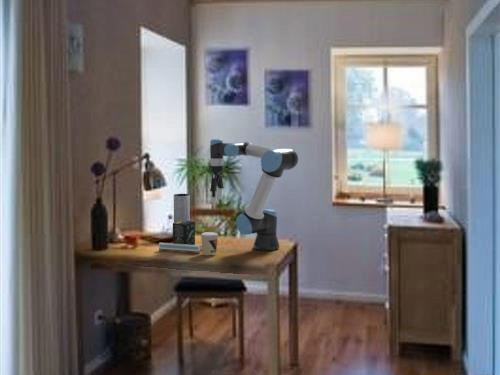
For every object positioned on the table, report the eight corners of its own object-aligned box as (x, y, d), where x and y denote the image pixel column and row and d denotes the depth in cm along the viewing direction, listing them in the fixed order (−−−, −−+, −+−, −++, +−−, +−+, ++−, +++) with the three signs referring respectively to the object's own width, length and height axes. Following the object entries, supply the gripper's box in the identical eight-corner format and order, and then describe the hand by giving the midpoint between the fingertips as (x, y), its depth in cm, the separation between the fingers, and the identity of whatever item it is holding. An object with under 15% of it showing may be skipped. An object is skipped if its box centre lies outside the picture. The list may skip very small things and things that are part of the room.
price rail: (199, 250, 374) (199, 245, 373) (198, 251, 372) (198, 245, 372) (159, 248, 380) (159, 242, 379) (158, 248, 378) (158, 243, 378)
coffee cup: (211, 257, 365) (211, 236, 364) (197, 255, 370) (197, 234, 368) (221, 254, 373) (221, 233, 371) (207, 252, 378) (207, 231, 376)
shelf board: (206, 248, 386) (206, 246, 386) (198, 254, 373) (198, 251, 373) (168, 245, 392) (168, 243, 392) (159, 251, 379) (159, 248, 379)
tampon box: (181, 244, 390) (181, 219, 388) (195, 245, 387) (195, 221, 385) (172, 247, 380) (172, 222, 379) (186, 249, 377) (186, 224, 375)
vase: (193, 236, 419) (192, 194, 415) (183, 239, 410) (183, 196, 407) (180, 235, 424) (180, 193, 420) (170, 237, 415) (170, 195, 412)
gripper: (216, 163, 407) (216, 197, 409) (204, 167, 382) (205, 203, 385) (227, 163, 405) (228, 198, 408) (217, 167, 381) (217, 203, 383)
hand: (217, 200), depth 396 cm, fingers open, 13 cm apart
